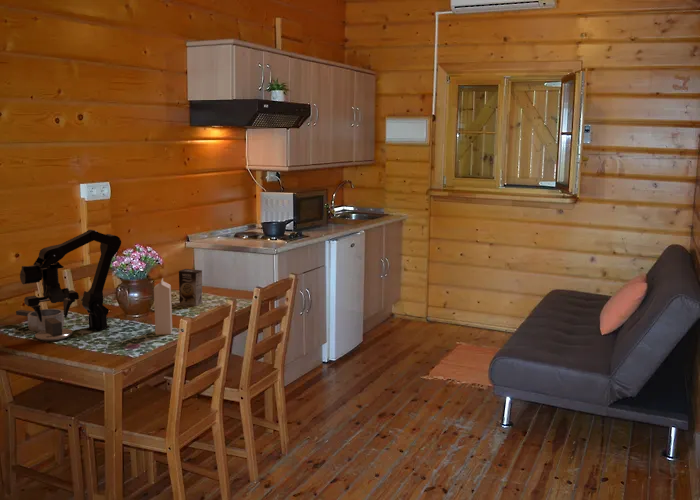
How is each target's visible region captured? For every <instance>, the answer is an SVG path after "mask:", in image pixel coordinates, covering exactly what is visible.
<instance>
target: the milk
mask: <svg viewBox="0 0 700 500" xmlns="http://www.w3.org/2000/svg"><path fill="white" fill-rule="evenodd" d="M160 280H161V281H160V282H158V283H157V284H156V285H154V288H153V303H154V324H155V325H154V328H155V329H154V330H155V336H156V335H171V334H172V333H173V332H172V331H173V311H172V308H173V307H172V286H171V284H169V283H168V282H166V281H164V277H162V278H161V279H160Z"/></svg>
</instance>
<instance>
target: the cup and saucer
mask: <svg viewBox="0 0 700 500" xmlns="http://www.w3.org/2000/svg"><path fill="white" fill-rule="evenodd" d="M72 335H73V330H72V329H70V328H64V327H62V322H60V321H59V320H57V319H55V318H48V319H45V330H43V331H40V332H36V333H35V335H34V336H35V338H36V339H38V340H40V341H43V342H53V341H54V342H57V341H61V340H64V339H66V338H68V337H70V336H72Z"/></svg>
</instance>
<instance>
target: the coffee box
mask: <svg viewBox="0 0 700 500" xmlns="http://www.w3.org/2000/svg"><path fill="white" fill-rule="evenodd" d="M178 290H179V295H178V296H179V297H178V298H179V299H178V300H179V305H182V306H183V305H184V306H191V305H192V306H194V307H197V306H199V305H202V304H203V270H202V269H201V270H200V269H192V268H191V269H189V268H185V269H181V270H178ZM201 303H202V304H201Z"/></svg>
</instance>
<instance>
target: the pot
mask: <svg viewBox="0 0 700 500" xmlns="http://www.w3.org/2000/svg"><path fill="white" fill-rule="evenodd" d="M40 310H41V316H42V322H40V320H39V318H38V316H37V314H36V312H35V311H34V310H26V309H18V310H16V311H15V314H16V315H15V316H23V317H27V326H28V330H30V331H32V332H36V333H38V332H40V331H43V330H45V319H48V318H55V319H57V320H59V321H60V322H62V328H64V326H65V317H64V310H62V309H59V308H42V309H40Z"/></svg>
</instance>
